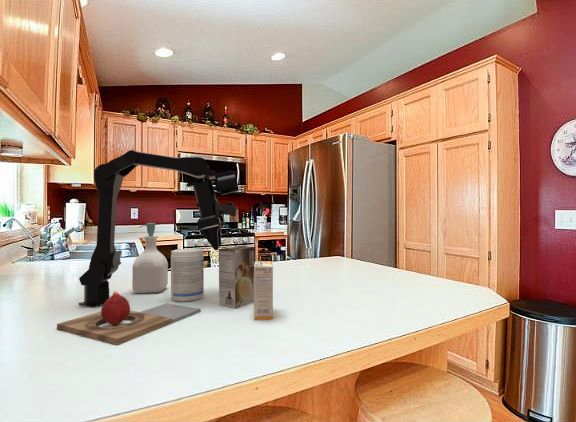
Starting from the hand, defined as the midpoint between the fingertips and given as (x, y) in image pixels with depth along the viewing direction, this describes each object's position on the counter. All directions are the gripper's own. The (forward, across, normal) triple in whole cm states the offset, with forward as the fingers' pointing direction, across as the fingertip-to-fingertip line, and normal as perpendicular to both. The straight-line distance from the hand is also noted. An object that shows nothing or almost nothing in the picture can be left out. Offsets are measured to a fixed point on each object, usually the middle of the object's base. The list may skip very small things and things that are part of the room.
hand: (218, 248), depth 98 cm
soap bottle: (+10, +12, +26) cm, 31 cm away
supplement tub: (+13, +1, +13) cm, 18 cm away
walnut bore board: (+10, -23, +24) cm, 34 cm away
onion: (+10, -23, +24) cm, 34 cm away
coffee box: (+16, -7, -2) cm, 18 cm away
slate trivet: (+12, -16, +15) cm, 25 cm away
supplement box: (+18, -18, -9) cm, 27 cm away
